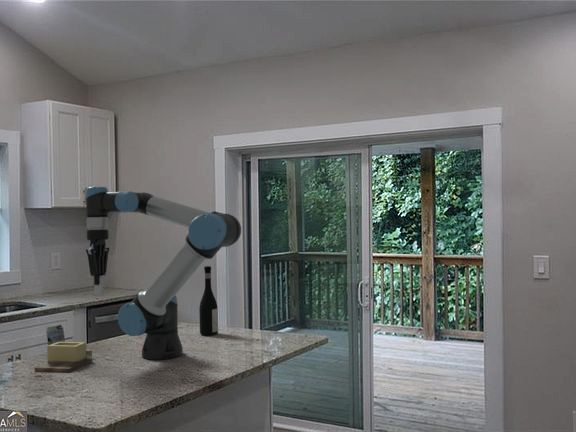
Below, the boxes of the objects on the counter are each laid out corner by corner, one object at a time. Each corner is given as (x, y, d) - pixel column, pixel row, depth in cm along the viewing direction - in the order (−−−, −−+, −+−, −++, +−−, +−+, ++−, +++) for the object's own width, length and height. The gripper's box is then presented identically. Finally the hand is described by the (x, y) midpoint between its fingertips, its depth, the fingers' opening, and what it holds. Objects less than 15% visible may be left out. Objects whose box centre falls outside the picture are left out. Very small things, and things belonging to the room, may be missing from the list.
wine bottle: (218, 332, 263) (217, 265, 263) (217, 335, 255) (215, 266, 255) (200, 332, 263) (199, 265, 263) (198, 336, 255) (197, 267, 255)
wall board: (92, 361, 213) (92, 348, 213) (69, 372, 198) (69, 358, 198) (59, 360, 215) (59, 348, 215) (34, 371, 201) (34, 357, 201)
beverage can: (60, 358, 218) (60, 326, 218) (42, 358, 220) (42, 326, 220) (70, 354, 225) (69, 323, 225) (52, 354, 226) (52, 323, 226)
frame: (86, 358, 212) (86, 342, 212) (75, 363, 205) (75, 346, 205) (59, 358, 214) (58, 341, 214) (47, 362, 207) (47, 345, 207)
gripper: (97, 228, 222) (98, 291, 222) (78, 229, 209) (79, 295, 209) (115, 228, 220) (116, 291, 220) (98, 229, 208) (99, 296, 208)
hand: (98, 293), depth 215 cm, fingers closed
